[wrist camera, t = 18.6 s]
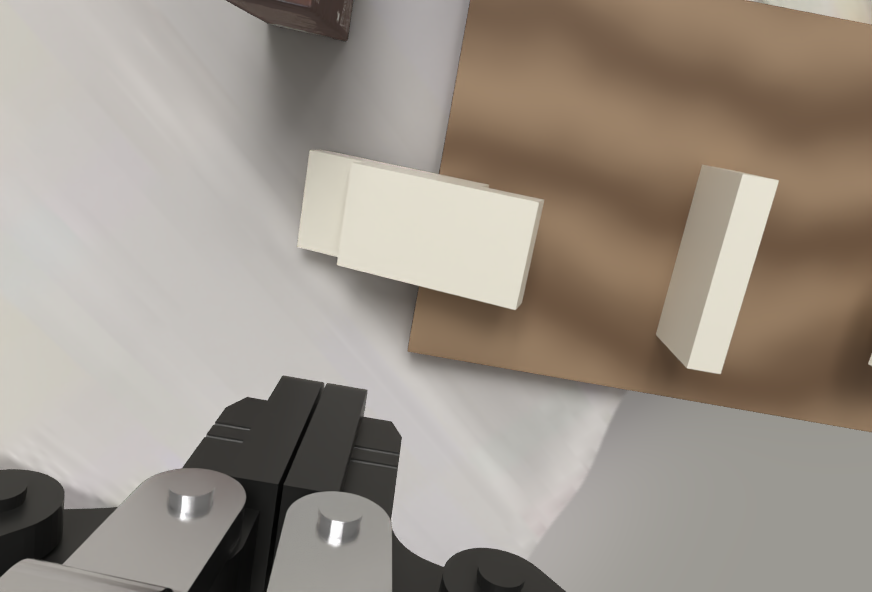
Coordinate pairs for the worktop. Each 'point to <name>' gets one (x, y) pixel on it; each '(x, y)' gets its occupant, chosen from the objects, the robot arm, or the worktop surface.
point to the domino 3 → (714, 265)
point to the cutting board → (669, 193)
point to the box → (303, 15)
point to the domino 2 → (439, 233)
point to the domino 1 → (333, 198)
